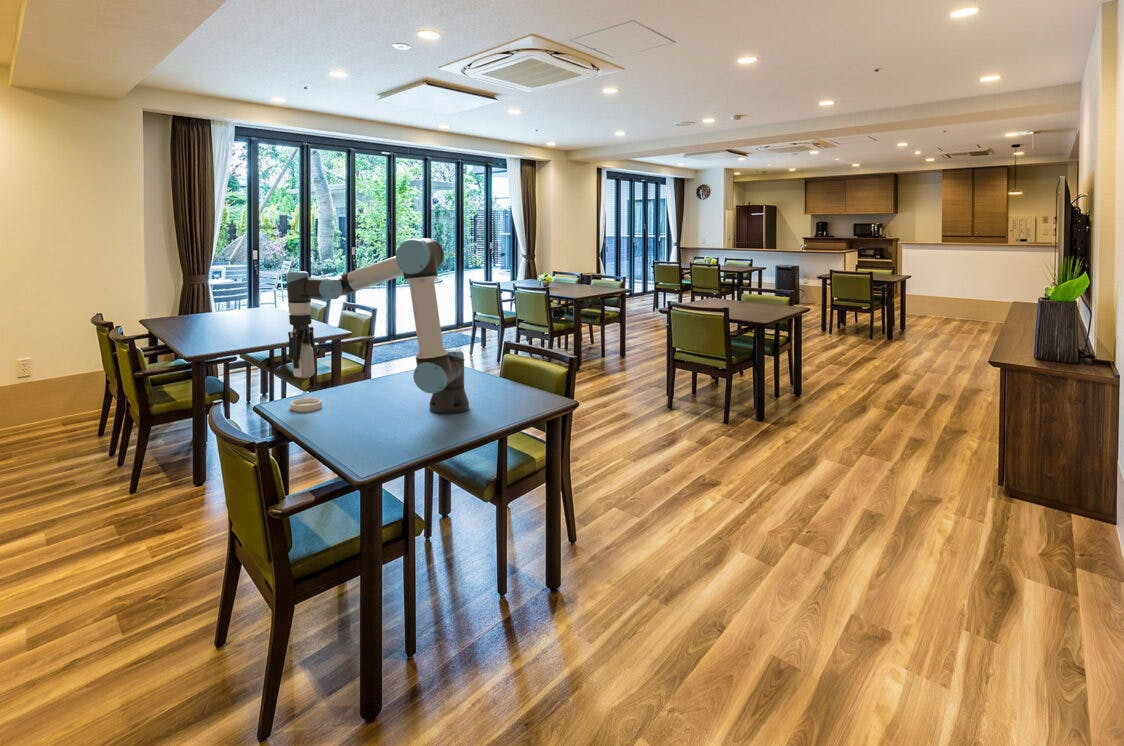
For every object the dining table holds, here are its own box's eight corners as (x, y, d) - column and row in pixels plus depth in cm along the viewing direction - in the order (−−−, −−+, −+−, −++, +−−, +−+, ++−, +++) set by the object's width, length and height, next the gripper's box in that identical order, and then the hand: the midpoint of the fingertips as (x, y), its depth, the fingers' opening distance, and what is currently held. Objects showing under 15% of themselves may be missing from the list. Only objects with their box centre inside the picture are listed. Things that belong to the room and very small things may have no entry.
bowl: (327, 404, 239) (327, 398, 239) (312, 412, 229) (312, 406, 228) (300, 403, 241) (300, 397, 240) (285, 410, 230) (284, 404, 229)
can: (293, 374, 234) (291, 343, 231) (314, 373, 237) (313, 342, 234) (292, 378, 227) (290, 346, 225) (314, 377, 230) (312, 345, 227)
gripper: (304, 309, 237) (308, 367, 242) (274, 316, 217) (279, 379, 222) (323, 310, 236) (326, 368, 241) (294, 317, 216) (299, 381, 222)
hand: (304, 374), depth 232 cm, fingers closed on can, 7 cm apart
